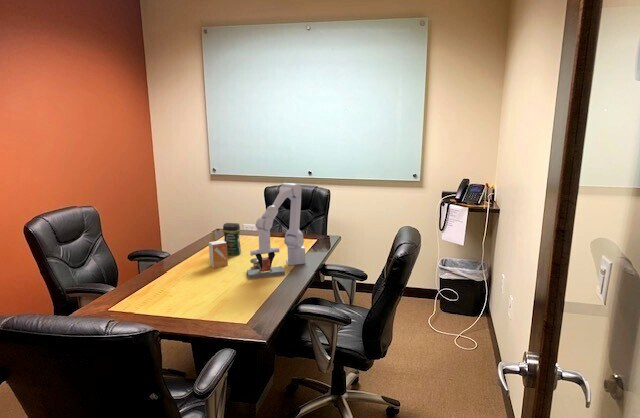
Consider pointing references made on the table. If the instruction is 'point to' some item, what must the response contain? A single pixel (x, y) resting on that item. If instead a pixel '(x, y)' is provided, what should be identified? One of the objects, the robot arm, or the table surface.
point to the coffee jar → (232, 238)
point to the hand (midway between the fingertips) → (265, 267)
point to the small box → (218, 254)
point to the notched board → (257, 274)
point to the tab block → (265, 264)
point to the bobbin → (255, 264)
